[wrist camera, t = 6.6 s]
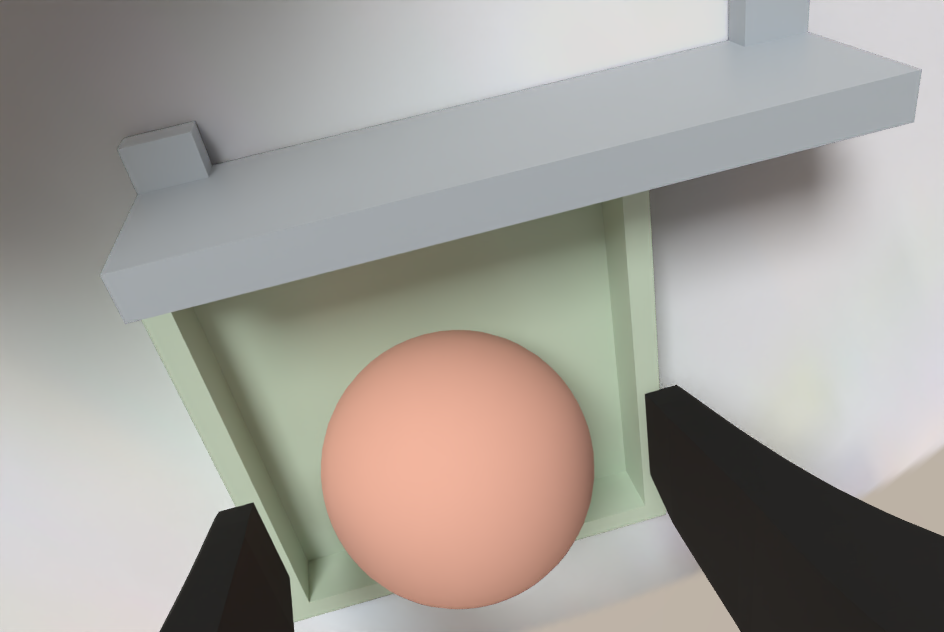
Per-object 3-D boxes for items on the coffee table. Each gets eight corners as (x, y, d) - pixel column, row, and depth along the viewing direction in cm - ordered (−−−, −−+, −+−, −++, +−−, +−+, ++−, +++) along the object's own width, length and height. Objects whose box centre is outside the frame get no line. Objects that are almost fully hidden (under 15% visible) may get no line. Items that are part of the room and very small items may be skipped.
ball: (531, 255, 15) (633, 408, 11) (556, 440, 18) (644, 620, 13) (283, 319, 14) (289, 505, 10) (348, 499, 17) (372, 705, 13)
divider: (791, -21, 13) (930, 12, 11) (785, 109, 15) (906, 171, 12) (124, 137, 13) (71, 222, 10) (179, 261, 14) (148, 368, 11)
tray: (614, 132, 14) (647, 160, 13) (640, 469, 19) (666, 514, 18) (143, 249, 14) (126, 291, 12) (293, 567, 18) (294, 622, 17)
